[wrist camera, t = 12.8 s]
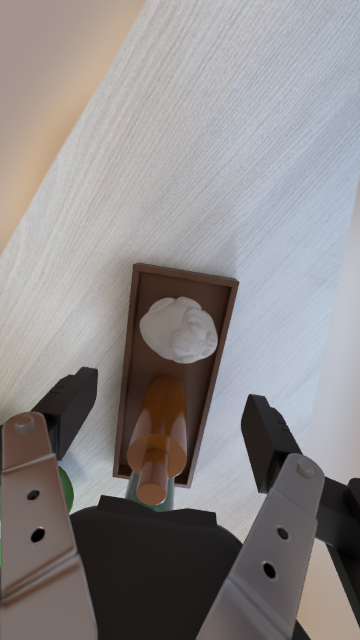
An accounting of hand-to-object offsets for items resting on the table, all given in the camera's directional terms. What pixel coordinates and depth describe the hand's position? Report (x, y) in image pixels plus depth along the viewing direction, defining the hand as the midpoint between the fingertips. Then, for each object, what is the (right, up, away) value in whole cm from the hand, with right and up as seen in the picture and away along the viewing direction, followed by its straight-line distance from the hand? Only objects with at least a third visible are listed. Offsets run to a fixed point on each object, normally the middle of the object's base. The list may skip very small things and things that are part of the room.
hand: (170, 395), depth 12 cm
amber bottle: (-1, -5, +16) cm, 17 cm away
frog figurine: (0, +4, +13) cm, 14 cm away
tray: (-1, -4, +16) cm, 17 cm away
